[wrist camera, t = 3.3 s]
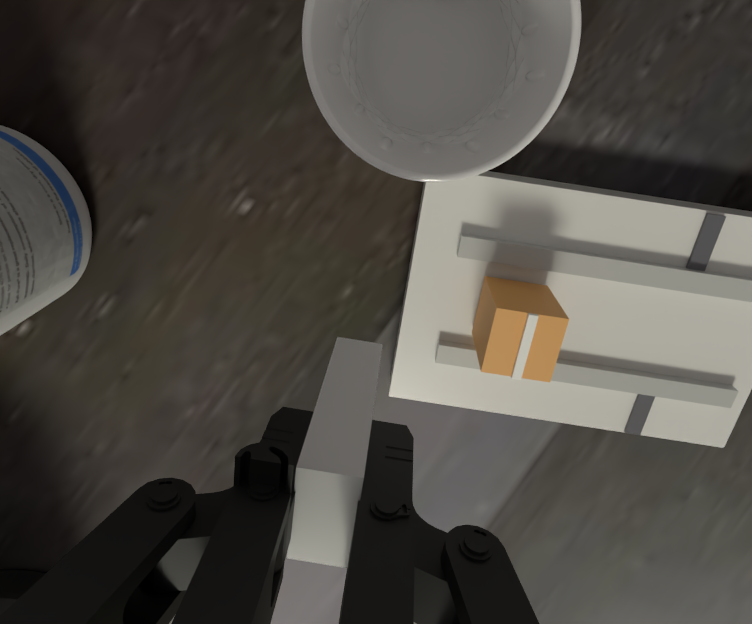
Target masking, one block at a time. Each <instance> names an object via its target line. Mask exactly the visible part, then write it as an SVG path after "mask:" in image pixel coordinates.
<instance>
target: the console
mask: <svg viewBox="0 0 752 624" xmlns="http://www.w3.org/2000/svg"><path fill="white" fill-rule="evenodd" d="M485 276H488V277H495V278H501V279H508V280H514V281H521V282H527V283H534V284H540V285H547V286H548V287H549V289H550V290H551V292H552V293H553V295H554V296H555V298H556V299H557V301H558V303H559V304H560V306H561V307H562V309H563V310H564V312H565V313H566V315H567V316H568V318H569V322H568V325H567V328H566V332H565V335H564V338H563V342H562V345H561V348H560V352H559V355H558V358H557V361H556V365H555V368H554V371H553V375H552V378H551V381H550V382H543V381H537V380H530V379H524V378H521V380H516V379H512V378H511V376H504V375H498V374H492V373H485V372H481V370H480V366H479V362H478V357H477V353H476V349H475V344H474V340H473V336H472V330H473V325H474V321H475V317H476V312H477V308H478V304H479V299H480V295H481V291H482V286H483V282H484V278H485ZM751 389H752V211H746V210H739V209H733V208H726V207H720V206H713V205H706V204H700V203H693V202H687V201H680V200H674V199H667V198H661V197H654V196H648V195H641V194H635V193H628V192H622V191H615V190H609V189H602V188H596V187H589V186H583V185H576V184H570V183H563V182H557V181H550V180H544V179H537V178H531V177H524V176H518V175H511V174H505V173H498V172H492V171H486V172H484V173H481V174H479V175H476V176H473V177H469V178H466V179H461V180H456V181H449V182H424V184H423V190H422V196H421V201H420V207H419V213H418V219H417V225H416V230H415V236H414V242H413V248H412V254H411V259H410V265H409V271H408V277H407V282H406V288H405V294H404V300H403V306H402V311H401V317H400V323H399V329H398V335H397V340H396V346H395V352H394V358H393V363H392V369H391V375H390V385H389V396H391V397H398V398H404V399H411V400H417V401H424V402H430V403H436V404H443V405H449V406H456V407H462V408H469V409H475V410H482V411H488V412H495V413H501V414H508V415H514V416H521V417H527V418H534V419H540V420H547V421H553V422H560V423H566V424H573V425H579V426H586V427H592V428H599V429H605V430H612V431H618V432H625V433H629V434H635V435H644V436H650V437H657V438H663V439H670V440H676V441H683V442H689V443H696V444H702V445H709V446H715V447H722V448H724V446H725V444H726V442H727V440H728V438H729V436H730V434H731V431H732V429H733V427H734V425H735V423H736V421H737V419H738V417H739V414H740V412H741V410H742V408H743V406H744V404H745V402H746V400H747V397H748V395H749V393H750V391H751Z"/></svg>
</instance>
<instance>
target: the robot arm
mask: <svg viewBox="0 0 752 624" xmlns="http://www.w3.org/2000/svg"><path fill="white" fill-rule="evenodd" d="M382 346H383V344H378V343H372V342H366V341H360V340H353V339H347V338H341V337H337V340H336V343H335V346H334V350H333V353H332V356H331V359H330V362H329V365H328V369H327V372H326V375H325V378H324V381H323V384H322V387H321V391H320V394H319V397H318V400H317V403H316V406H315V410H314V412H312V411H306V410H299V409H293V408H287V407H282V408H281V409H280V410H279V411H277V412H276V413H275V414H273V415H272V416H271V418H270V421H269V423H268V425H267V427H266V430H265V432H264V434H263V437H262V440H261V441H260V443H255V444H251V445H248V446H246V447H244V448H243V449H241V450H240V451H239V452H238V453H237V455H236V456H235V470H234V486H233V487H232V488H230V489H227V490H224V491H220V492H214V493H204V494H195V490H194V489H193V487H192V486H191V484H189V483H187V482H185V481H184V480H181V479H175V478H162V479H157V480H154V481H151V482H148V483H146V484H145V485H143V486H142V487H140V488H139V489H138V490H136V491H135V492H134V493H133V494H132V495H131V496H130V497H129V498H128V499H127V500H126V501H124V502H123V503H122V504H121V505H120V506H119V507H118V508H117V509H116V510H115V511H114V512H112V513H111V514H110V515H109V516H108V517H107V518H106V519H105V520H104V521H103V522H102V523H100V524H99V525H98V526H97V527H96V528H95V529H94V530H93V531H92V532H91V533H90V534H88V535H87V536H86V537H85V538H84V539H83V540H82V541H81V542H80V543H79V544H78V545H76V546H75V547H74V548H73V549H72V550H71V551H70V552H69V553H68V554H67V555H66V556H65V557H63V558H62V559H61V560H60V561H59V562H58V563H57V564H56V565H55V566H54V567H53V568H51V569H50V570H49V571H48V572H47V573H41V572H35V571H26V570H4V571H0V624H169V622H170V621H171V620H172V618H173V617H174V616H175V617H174V619H173V622H172V624H270V623H271V619H272V615H273V612H274V608H275V604H276V600H277V597H278V593H279V589H280V586H281V582H282V578H283V569H284V561H285V557H286V554H287V558H289V559H295V560H301V561H307V562H313V563H319V564H325V565H331V566H337V567H343V568H347V574H346V580H345V586H344V592H343V598H342V605H341V612H340V619H339V624H413V622H415V623H417V624H539V622H538V620H537V618H536V616H535V613H534V611H533V609H532V607H531V605H530V602H529V600H528V598H527V596H526V594H525V592H524V589H523V587H522V585H521V583H520V581H519V579H518V576H517V574H516V572H515V570H514V568H513V565H512V563H511V561H510V559H509V557H508V555H507V552H506V550H505V548H504V546H503V545H502V543H501V542H500V541H499V539H498V538H497V537H496V536H494V535H493V534H492V533H491V532H489V531H488V530H485V529H483V528H480V527H478V526H472V525H462V526H457V527H455V528H453V529H452V530H451V531H449V532H448V533H446V532H444V531H442V530H439V529H437V528H435V527H433V526H431V525H429V524H428V523H426V522H425V521H424V520H423V519H422V518H421V517H420V516H419V515H418V514H417V513H416V511H415V509H414V507H413V502H412V482H413V436H412V434H411V433H410V431H409V429H408V427H407V426H406V425H400V424H394V423H388V422H381V421H375V420H372V417H373V410H374V403H375V396H376V389H377V382H378V374H379V367H380V360H381V353H382ZM287 550H288V552H287ZM175 614H176V615H175Z"/></svg>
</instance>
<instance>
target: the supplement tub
mask: <svg viewBox="0 0 752 624" xmlns="http://www.w3.org/2000/svg"><path fill="white" fill-rule="evenodd" d="M91 244H92V227H91V219H90V215H89V210H88V207H87V204H86V201H85V199H84V197H83V194H82V192H81V190H80V188H79V187H78V185H77V183H76V182H75V180H74V179H73V177H72V176H71V174H70V173H69V172H68V170H67V169H66V168H65V167H64V166H63V164H62V163H61V162H60V161H59V160H58V159H57V158H56V157H55V156H54V155H53V154H51V153H50V152H49V151H48V150H47V149H46V148H44V147H43V146H42V145H40V144H39V143H37V142H36V141H34V140H33V139H31V138H29V137H28V136H26V135H24V134H22V133H20V132H18V131H16V130H13V129H10V128H8V127H4V126H1V125H0V335H2V334H4V333H5V332H7V331H8V330H10V329H11V328H13V327H14V326H16V325H17V324H19V323H21V322H22V321H24V320H25V319H27V318H28V317H30V316H31V315H33V314H34V313H36V312H38V311H39V310H41V309H42V308H44V307H45V306H47V305H48V304H50V303H51V302H53V301H54V300H56V299H57V298H59V297H60V296H62V295H63V294H65V293H66V292H67V291H69V290H70V289H71V288H72V287H73V286H74V285H75V284H76V283H77V281H78V280H79V279H80V277H81V276H82V274H83V272H84V270H85V269H86V266H87V263H88V260H89V257H90V252H91Z"/></svg>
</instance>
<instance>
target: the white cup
mask: <svg viewBox="0 0 752 624" xmlns="http://www.w3.org/2000/svg"><path fill="white" fill-rule="evenodd" d="M580 36H581V4H580V0H305V6H304V12H303V22H302V48H303V58H304V64H305V69H306V74H307V78H308V81H309V85H310V88H311V91H312V93H313V96H314V98H315V101H316V103H317V105H318V107H319V109H320V111H321V113H322V115H323V116H324V118H325V120H326V121H327V123H328V124H329V126H330V127H331V128H332V130H333V131H334V132H335V134H336V135H337V136H338V137H339V138H340V140H341V141H342V142H343V143H344V144H345V145H346V146H347V147H348V148H349V149H351V150H352V151H353V152H354V153H355V154H356V155H358V156H359V157H360V158H362V159H363V160H365V161H366V162H368V163H369V164H371V165H373V166H374V167H376V168H378V169H380V170H382V171H384V172H387V173H389V174H392V175H394V176H397V177H401V178H404V179H409V180H414V181H421V182H449V181H456V180H461V179H466V178H469V177H473V176H476V175H479V174H481V173H484V172H486V171H489V170H491V169H493V168H495V167H497V166H499V165H500V164H502V163H504V162H506V161H507V160H509V159H510V158H512V157H513V156H514V155H516V154H517V153H518V152H520V151H521V150H522V149H523V148H524V147H526V146H527V145H528V144H529V143H530V142H531V141H532V140H533V139H534V138H535V137H536V136H537V135H538V134H539V132H540V131H541V130H542V129H543V128H544V127H545V125H546V124H547V123H548V121H549V120H550V118H551V117H552V116H553V114H554V112H555V111H556V109H557V108H558V106H559V104H560V102H561V100H562V98H563V96H564V94H565V92H566V90H567V88H568V85H569V83H570V80H571V77H572V74H573V71H574V68H575V64H576V60H577V56H578V51H579V45H580Z"/></svg>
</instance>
